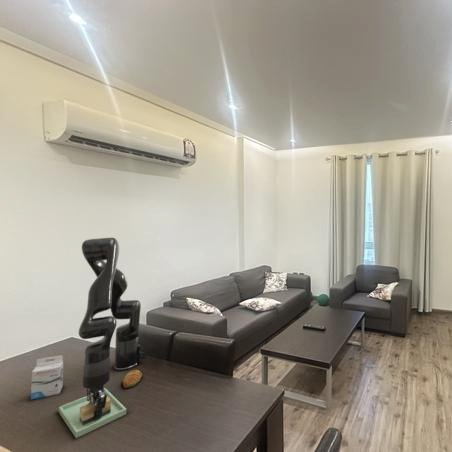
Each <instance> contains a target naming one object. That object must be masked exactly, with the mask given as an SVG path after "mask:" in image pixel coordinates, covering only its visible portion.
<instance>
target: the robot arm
mask: <svg viewBox="0 0 452 452" xmlns="http://www.w3.org/2000/svg"><path fill="white" fill-rule="evenodd" d="M81 252H82V255H83V257H84V259H85V261H86V262H87V264H88V265H89V267H90V269H91V270H92V272H93V273H94V275H95V277H96V279H94V281H93V282H92V284H91V285H90V287H89V290H88V293H87V305H86V311H85V313H84V317H83V319H82V321H81V323H80V326H79V328H78V337H80V338H81V339H82V340H88V339H89V340H90V339H94V338H100V337H102V338H101V339H99V340H96V341H94V342H92V343H89V344H88V345H86V346H85V348H84V363H83V364H84V365H83V370H82V371H83V374H82V375H83V376H82V387H83V388H84V389H86V396H87V401H89V403H91V402H92V404H93V405H94V420H97V419H100V418H101V417H102V409H103V408H105V405H106V399H107V394H104V392H105V389H106V387H105V386H104V385H106V384H107V383H108V382H109V381H110V378H111V358H110V353H111V342H112V339H113V336H114V333H115V347H114V348H115V350H114V352H115V353H114V370H116V371H126V370H129V369H132V368H135V367H137V365H139V364H140V360H141V359H142V357H145V356H146V355H145V352H142V351H141V344H139V336H140V335H139V334H140V333H139V331H140V319H141V310H142V309H141V307H142V306H141V305H142V304H141V301H140V300H138V299H130V300H129V299H127V300H123V299H122V298H121V297H122V296H123V295H124V293H125V292H126V290H127V288H128V284H129V283H128V280H127V278H126V276H125V273H124V272H123V271H122V270H120V269H119V268H117V266H118V260H119V256H120V244H119V242H118V239H117V238H115V237H100V238H99V237H98V238H90V239H86V240H83V242H82V243H81ZM109 310H110V312H111V315H109V316H100V317H99V316H98V317H95V316H96V315H98V314H99V313H102V312H106V311H109ZM117 320H120V321H121V320H129V321H128V322H127V323H124V324H121V325H119V326H118V327H117V322H118V321H117ZM96 400H97V401H96Z"/></svg>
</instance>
